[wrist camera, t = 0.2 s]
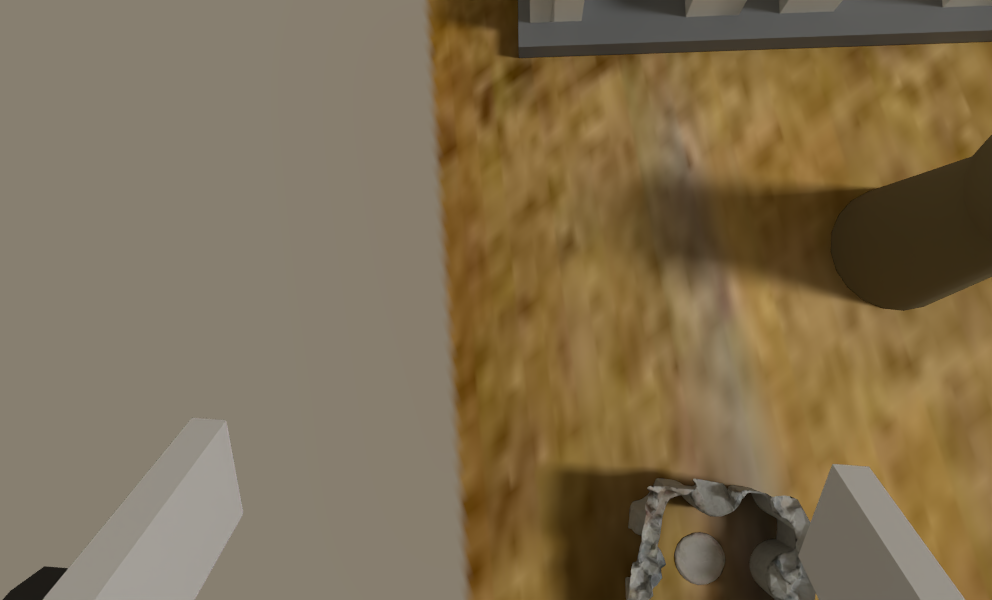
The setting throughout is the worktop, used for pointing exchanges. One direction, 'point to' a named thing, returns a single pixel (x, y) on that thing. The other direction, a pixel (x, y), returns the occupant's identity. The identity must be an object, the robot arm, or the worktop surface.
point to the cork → (919, 235)
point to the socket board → (742, 24)
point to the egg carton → (704, 555)
